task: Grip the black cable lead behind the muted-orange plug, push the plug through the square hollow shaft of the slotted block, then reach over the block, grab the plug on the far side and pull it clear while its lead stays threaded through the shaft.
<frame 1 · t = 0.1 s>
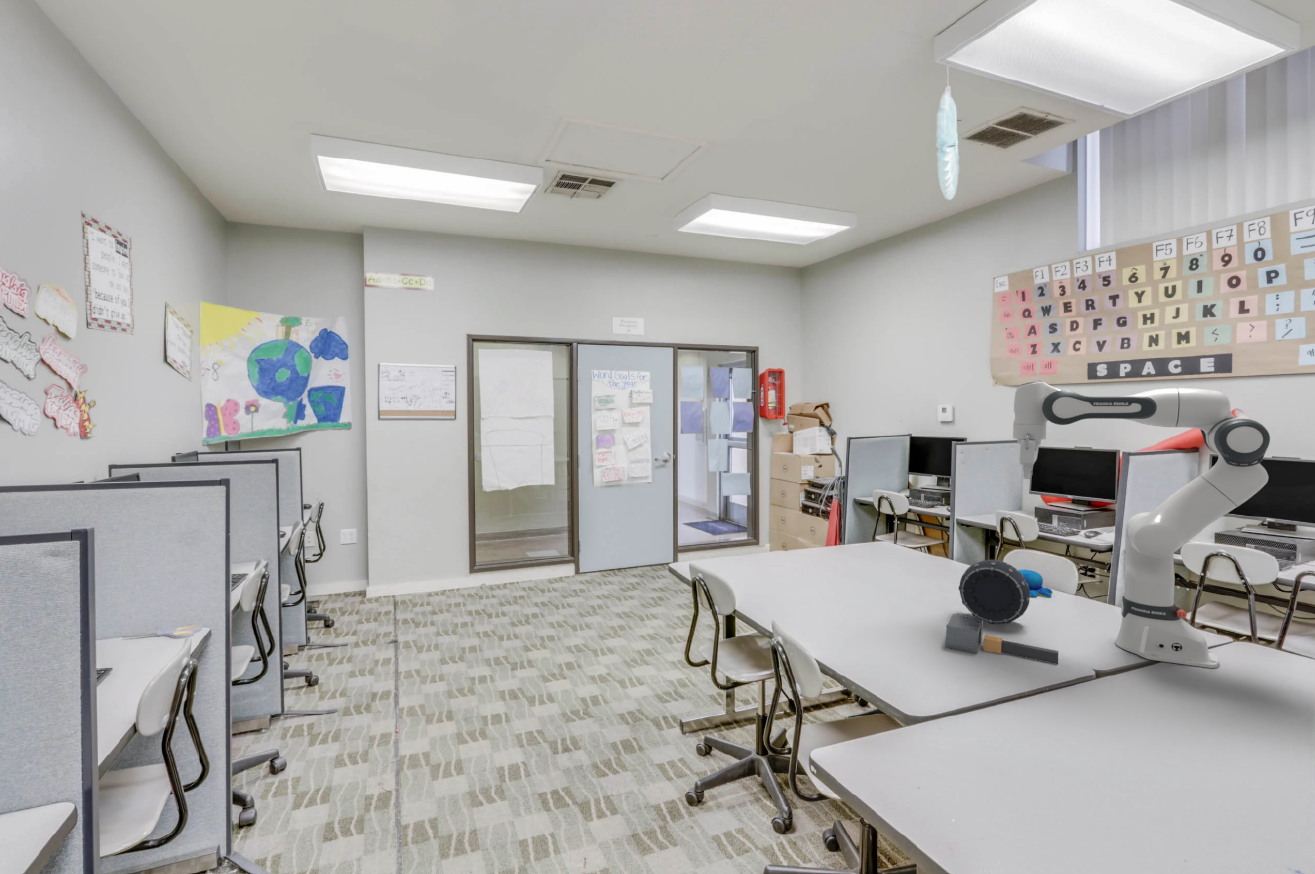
hand: (1027, 477, 190), 48 cm above the table, fingers open, 8 cm apart
plush toy: (1026, 592, 230), on the table
plug: (992, 649, 174), on the table
dotted bowl: (992, 622, 197), on the table
slotted block: (964, 643, 178), on the table
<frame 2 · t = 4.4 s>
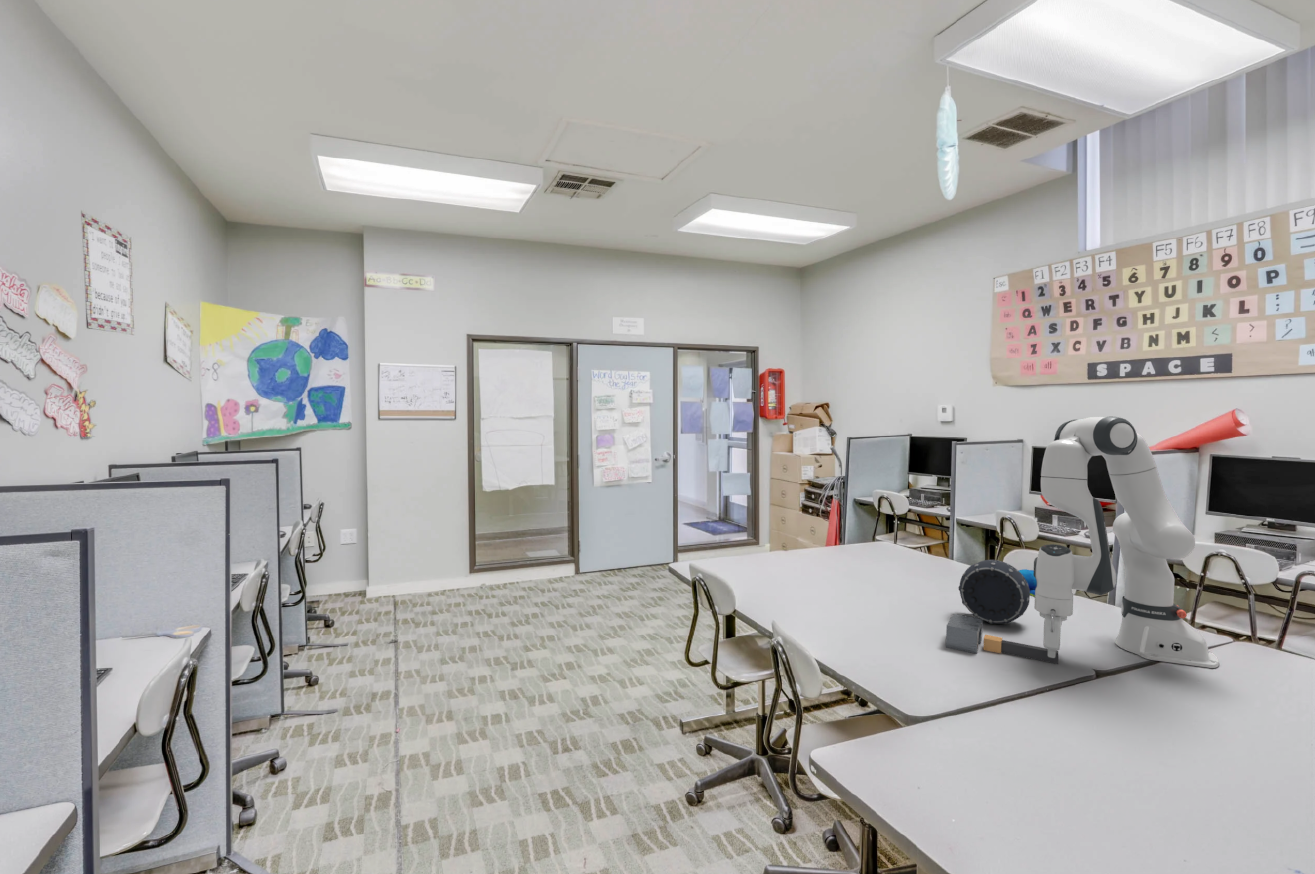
hand: (1051, 654, 166), 2 cm above the table, fingers closed on plug, 2 cm apart
plug: (992, 649, 174), on the table, touching gripper
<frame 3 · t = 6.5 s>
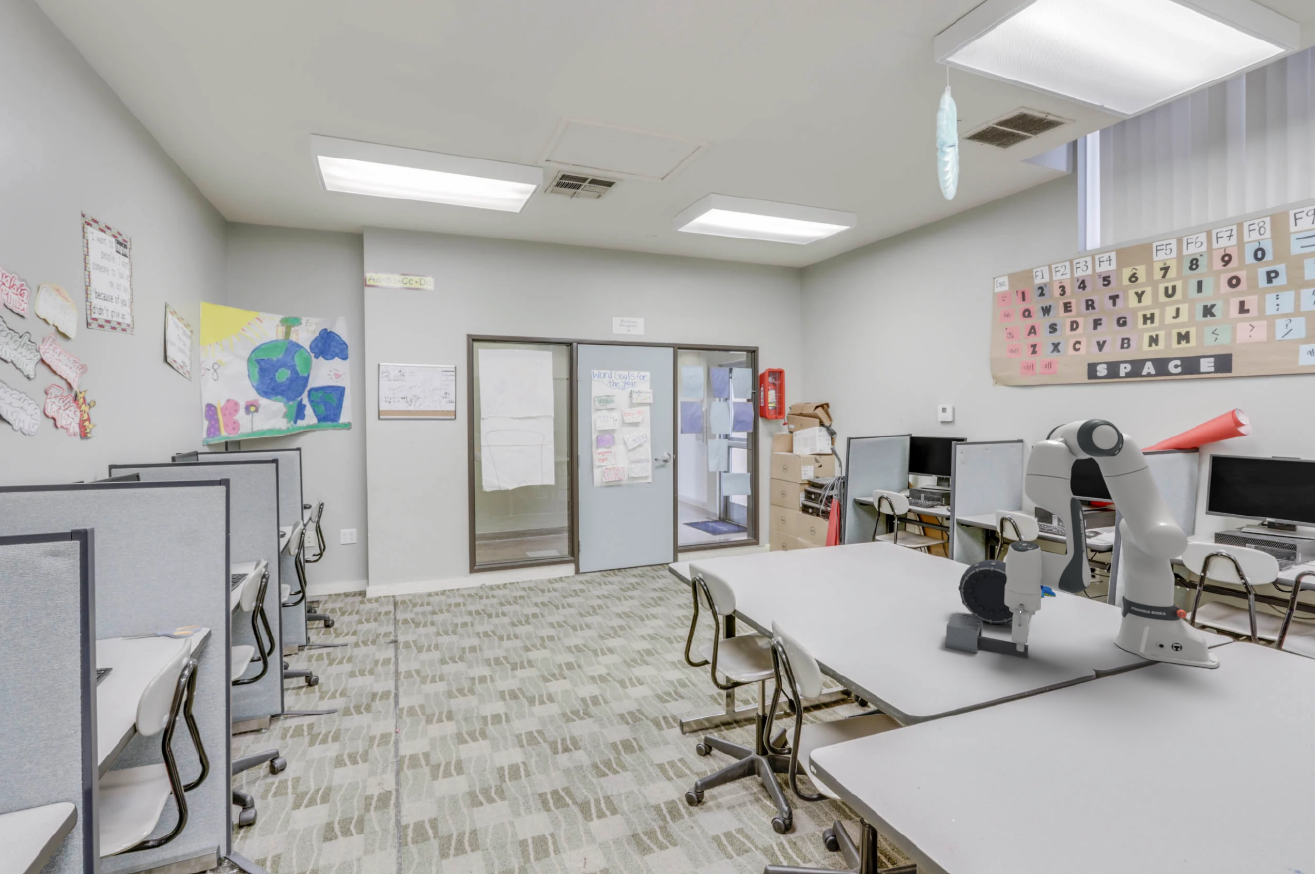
hand: (1020, 648, 170), 2 cm above the table, fingers closed on plug, 2 cm apart
plug: (965, 644, 178), on the table, touching gripper
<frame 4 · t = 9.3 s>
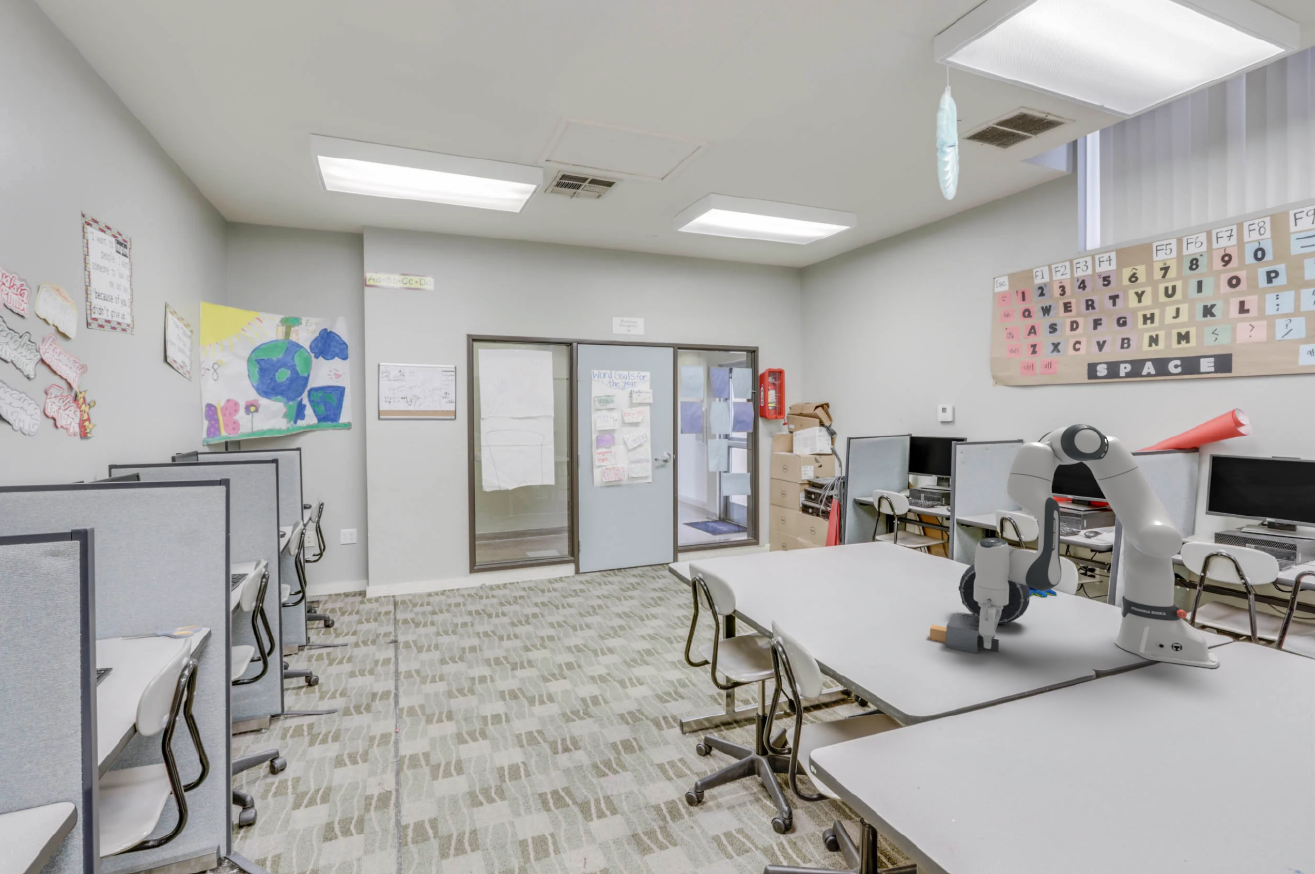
hand: (989, 642, 174), 2 cm above the table, fingers open, 8 cm apart
plug: (938, 638, 182), on the table
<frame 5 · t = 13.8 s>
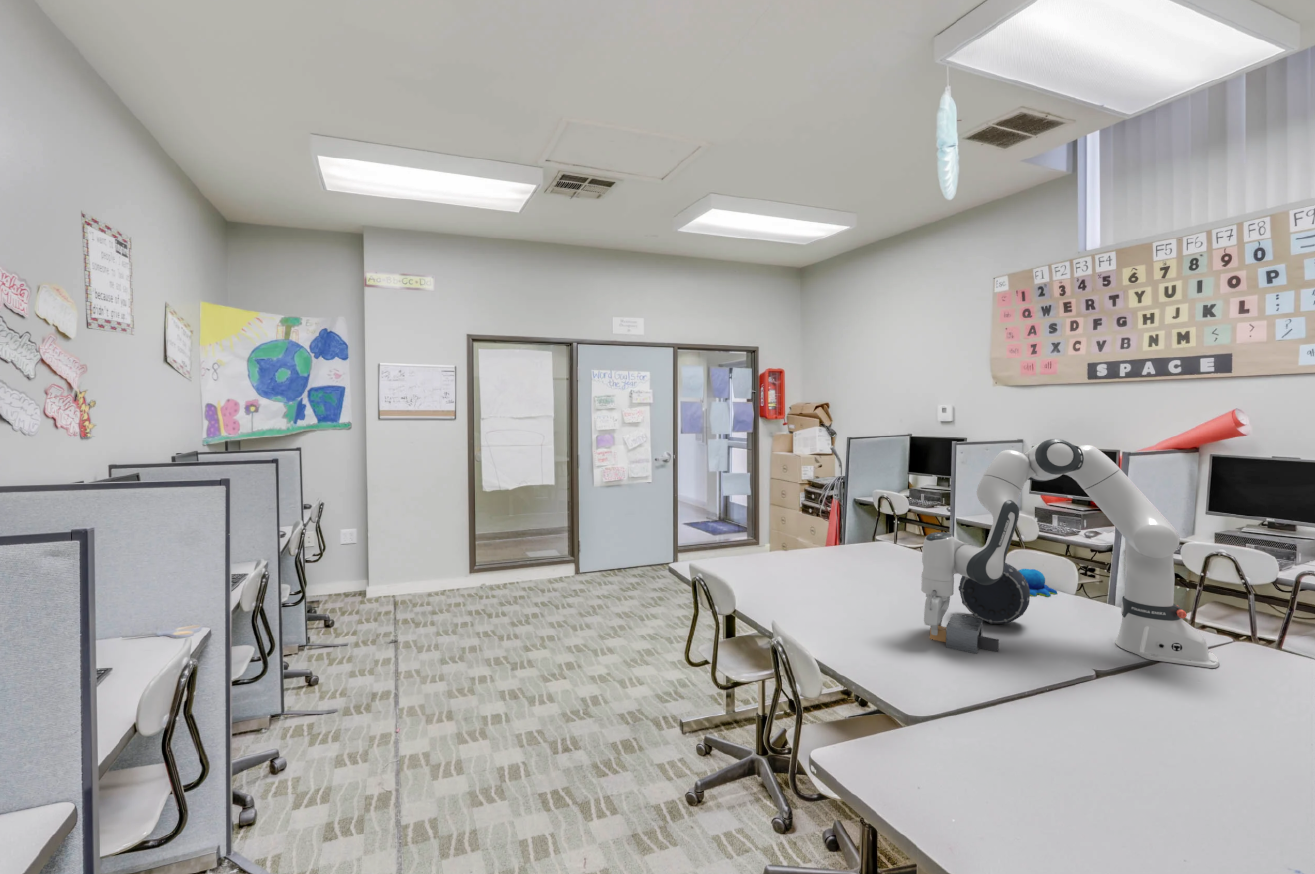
hand: (936, 631, 182), 2 cm above the table, fingers closed on plug, 4 cm apart
plug: (938, 638, 182), on the table, touching gripper
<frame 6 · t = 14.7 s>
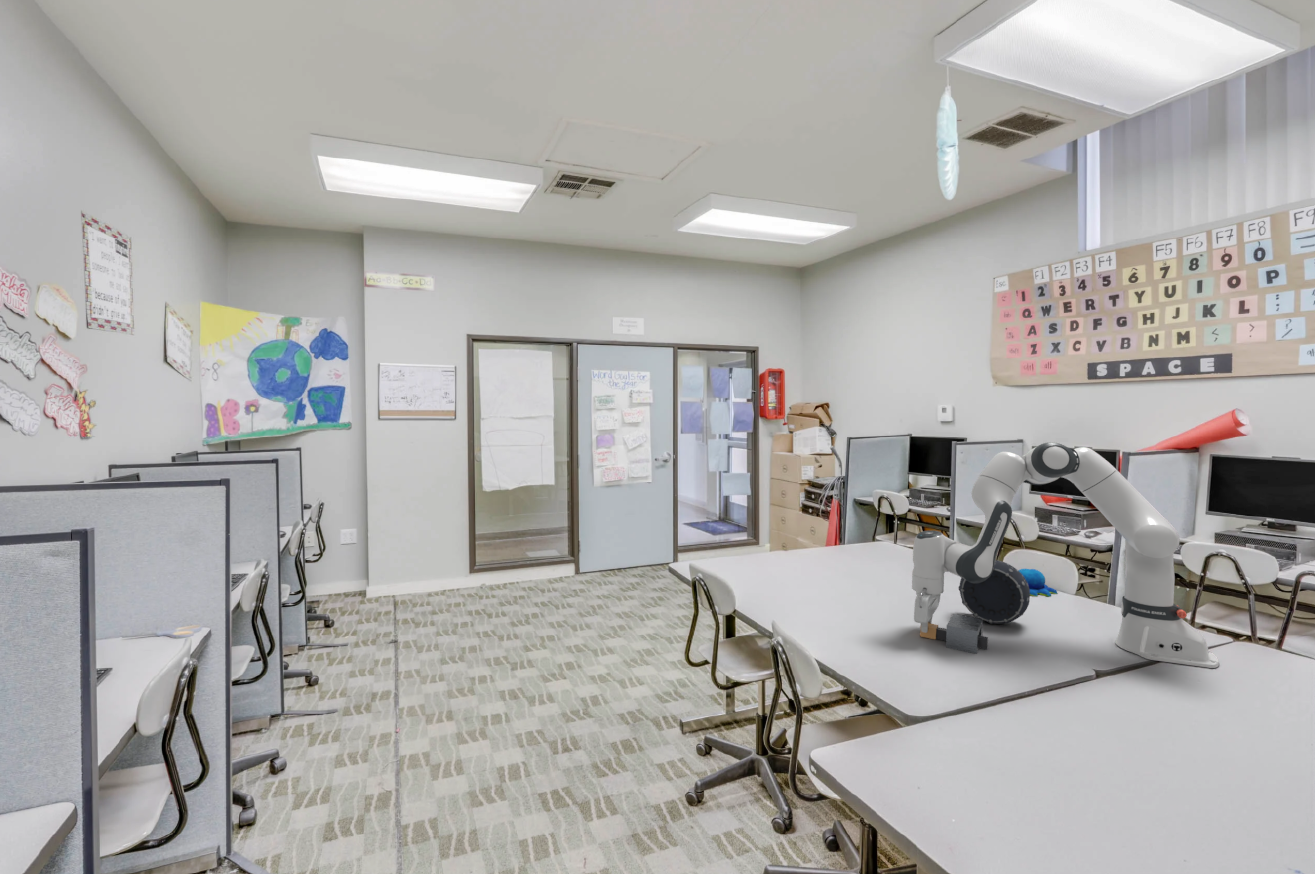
hand: (926, 629, 184), 2 cm above the table, fingers closed on plug, 4 cm apart
plug: (928, 636, 184), on the table, touching gripper
when the fingers open (2 cm above the table, at t = 15.8 s): plug stays where it is, on the table.
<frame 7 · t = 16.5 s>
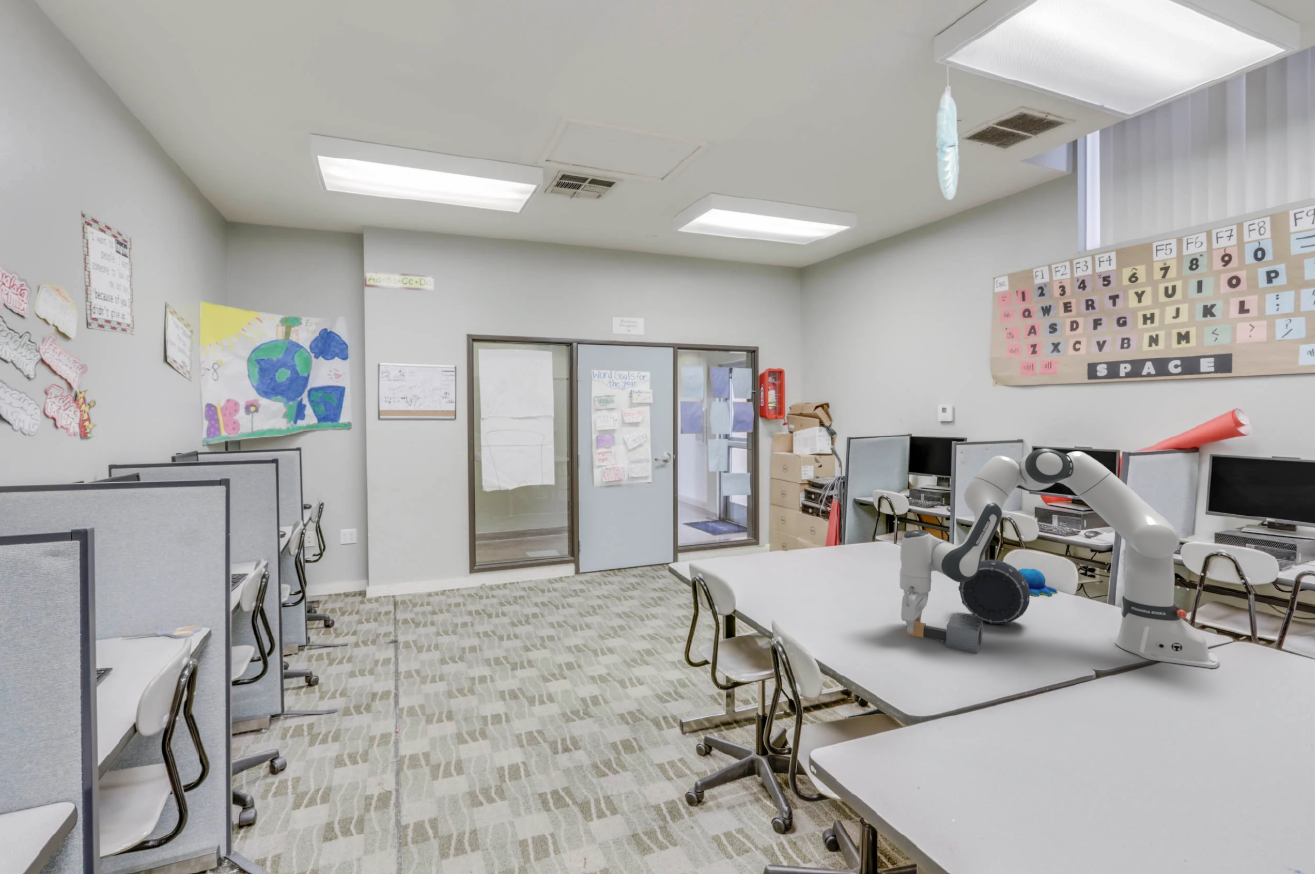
hand: (914, 627, 186), 2 cm above the table, fingers open, 8 cm apart
plug: (916, 634, 186), on the table
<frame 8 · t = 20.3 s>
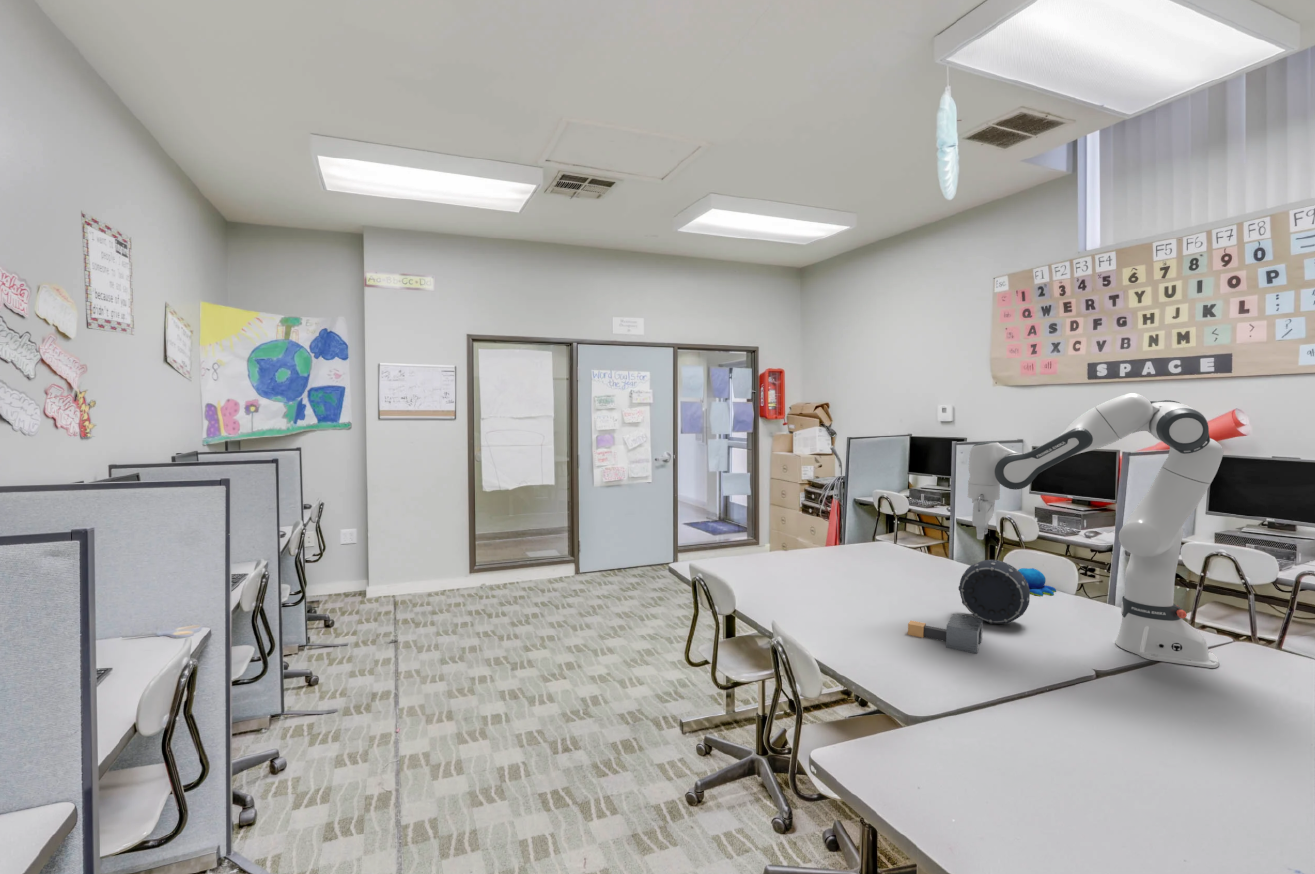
hand: (982, 536, 190), 29 cm above the table, fingers open, 8 cm apart
at the end: plug inside the target area (0.3 cm from its centre), on the table; plug tilted 0°; the gripper is holding nothing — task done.
